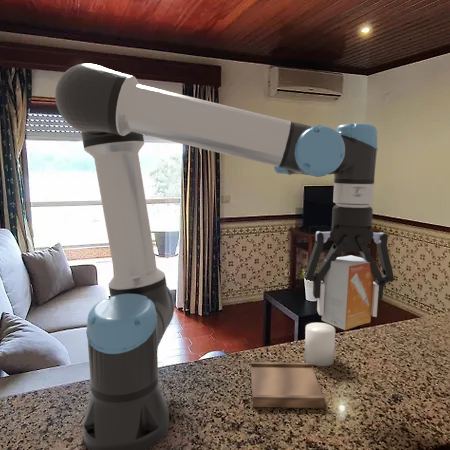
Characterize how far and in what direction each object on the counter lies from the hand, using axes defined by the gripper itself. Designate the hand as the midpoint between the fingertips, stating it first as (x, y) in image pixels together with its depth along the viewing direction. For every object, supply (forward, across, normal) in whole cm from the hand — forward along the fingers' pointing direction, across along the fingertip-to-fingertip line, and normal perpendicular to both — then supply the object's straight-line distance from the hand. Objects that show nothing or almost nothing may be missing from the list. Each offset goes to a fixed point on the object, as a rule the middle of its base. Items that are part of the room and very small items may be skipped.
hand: (346, 313), depth 80 cm
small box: (+2, 0, 0) cm, 2 cm away
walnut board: (+17, -12, +1) cm, 21 cm away
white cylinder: (+17, -2, +15) cm, 23 cm away
